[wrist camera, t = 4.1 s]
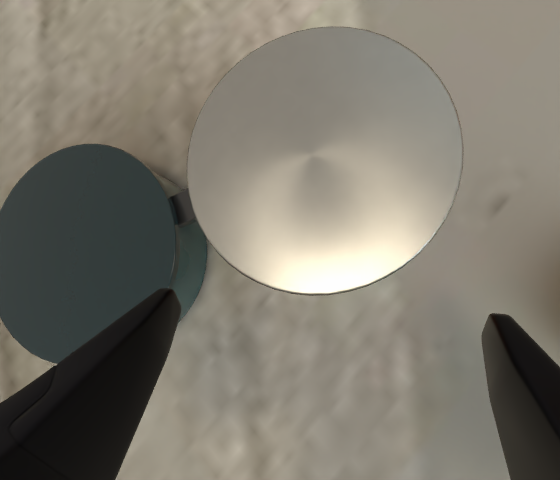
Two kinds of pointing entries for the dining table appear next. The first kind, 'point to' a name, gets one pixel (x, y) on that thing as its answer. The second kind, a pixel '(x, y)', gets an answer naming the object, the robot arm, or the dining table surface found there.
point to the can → (325, 161)
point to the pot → (92, 247)
